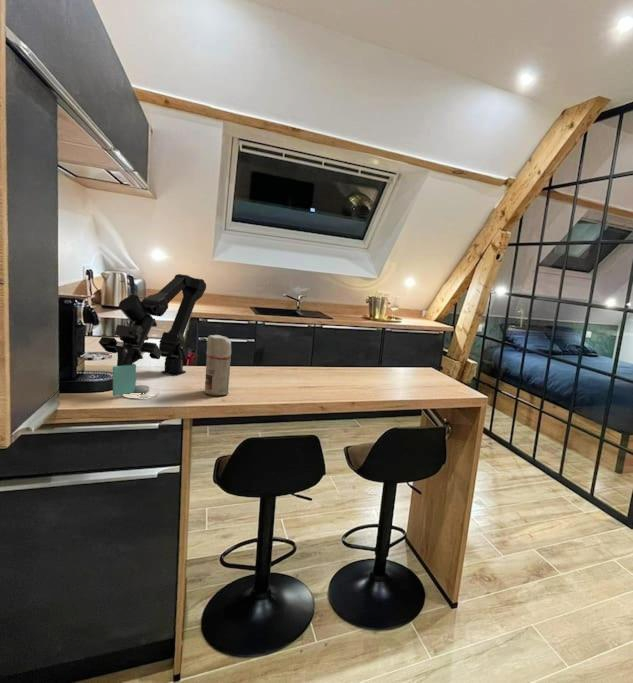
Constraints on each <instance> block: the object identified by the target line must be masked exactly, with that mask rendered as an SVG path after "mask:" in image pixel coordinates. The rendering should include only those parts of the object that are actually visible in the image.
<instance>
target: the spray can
mask: <svg viewBox="0 0 633 683" xmlns="http://www.w3.org/2000/svg"><path fill="white" fill-rule="evenodd" d="M231 357H232V340H231V339H229V337H227V336H223V335H220V334H213V335H212V334H210V335H208V336H207V340H206V361H205V362H206V363H205V364H206V366H205V381H204V384H205V385H204V391H203V393H204V392H205V393H204V394H207V395H208V396H215V397H216V396H217V397H218V396H227V395H229V388H230V387H229V385H230V371H231Z"/></svg>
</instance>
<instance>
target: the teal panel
mask: <svg viewBox="0 0 633 683" xmlns="http://www.w3.org/2000/svg"><path fill="white" fill-rule="evenodd" d="M136 378H137V364H136V363H133V364H130V365H122V366H117V365H116V366H112V396H113V397H116V396H117V397H118V396H122V395H123V394H129V393H146V392H148V391H149V386H148V385H142V384H139V385H137V380H136Z"/></svg>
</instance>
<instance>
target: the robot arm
mask: <svg viewBox="0 0 633 683" xmlns="http://www.w3.org/2000/svg"><path fill="white" fill-rule="evenodd" d="M206 290H207V283H206V282H205V280H204V279H203V278H195V277H192V276H190V275H188V274H181V273H178V274H175V275H174V277H173V279H171V280H170V281H169V282H168V283H167V284H166V285H165V286H164V287H162V289H160V290H159V291H158V292H157V293H154V294H149V295H147V296H146V297H144V298H143V299H142V300H141V299H140V297H139V295H138V294H133V293H132V294H131V295H129V296H128V297H127V296H126V297H125V298H123V299H122V300H120V301H119V303H118V309H120V311H121V312H122V313H123V315H124V316H125V317H126V318H127V319H128V320H129V322H130V321H131V322H132V323H131V326H129V325H124V324H123V325H122V324H116V327H115V331H114V334H113V335H114V336H119V340H120V341H117V339H116V338H115V337H111V336H102V337H100V340H99V341H98V344H99V346H101V347H102V349H103V350H104V351H105V352H107V353H111V354H117V362H116V366H122V365H130V364H135V363H136V362H138V361H140V360H143V358H144V356H143V355H144V354H145V353H147V354H148V355H149V357H150V359H153V360H160V359H161V357H162V358H163V357H164V358H165V360H164V361H165V362H164V370H162V371H161V373H162V372H164V373H163V374H165V373H168V374H167V375H169V374H172V375H171V376H174V375H176V376H178V374H179V375H181V374H186V373H187V371H186V370H184V368H183V367H184V360H186V359H187V358H188V357H189V352H188V350H187V348H186V347H185V345H186V340H185V336H184V334H185V332H186V329H187V326H188V323H189V321H190V318H191V315H192V313H193V310H194V308H195V304H196V302H197V301H198V300H199V299H201V298H202V297H203V295H204V293H205V291H206ZM180 292H182V299H181V302H180V304H179V307H178V310H177V312H176V314H175V318H174V320H173V323H172V325H171V328H170V330H169V331H168V332H166V331H164V332H163V333H162V334H161V335H162V336H161V338H160V340H159V345H158V344H157V342H149V336H148V335H149V334H150V331H151V328H152V327H153V328H155V327H158V325H157V322H156V318H154V317H153V316H156V317H162V316H164V315H165V313H166V312H167V310H168V309H169V303H170V302H172V301H173V300H174V298H176V296H178V295H179V293H180Z"/></svg>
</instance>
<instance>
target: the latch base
mask: <svg viewBox="0 0 633 683" xmlns="http://www.w3.org/2000/svg"><path fill="white" fill-rule="evenodd" d="M148 387H149V386H148ZM158 393H159V394H160V391H159V389H158V388H155V387H152V386H151V387H149V391H148V392H146V393H144V394H143V393H141V394H140V395H141V396H140V397H139V398H148V397H153V396H156V395H157V394H158ZM129 394H130V393H129ZM137 396H139V395H137ZM156 397H157V396H156ZM153 398H154V397H153Z"/></svg>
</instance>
